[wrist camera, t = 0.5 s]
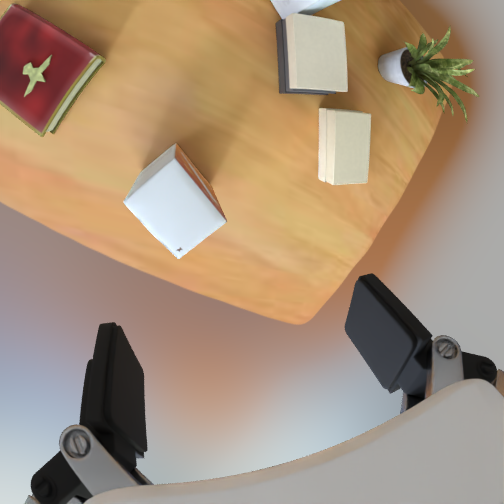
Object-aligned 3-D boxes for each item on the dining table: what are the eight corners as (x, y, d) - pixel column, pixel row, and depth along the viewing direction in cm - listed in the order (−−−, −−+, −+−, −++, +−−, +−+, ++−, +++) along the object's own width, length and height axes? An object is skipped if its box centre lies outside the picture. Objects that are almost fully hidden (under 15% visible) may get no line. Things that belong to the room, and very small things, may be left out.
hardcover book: (24, 7, 13) (11, 1, 10) (107, 59, 24) (98, 53, 20) (-21, 74, 16) (-35, 74, 12) (54, 133, 26) (40, 137, 23)
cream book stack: (318, 107, 34) (334, 109, 31) (354, 110, 36) (371, 112, 32) (318, 178, 40) (332, 186, 36) (351, 176, 41) (367, 184, 38)
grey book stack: (275, 23, 27) (287, 14, 23) (317, 28, 28) (332, 21, 24) (279, 93, 32) (291, 92, 28) (320, 95, 33) (336, 95, 30)
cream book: (285, 17, 23) (292, 12, 21) (335, 25, 24) (344, 22, 23) (289, 88, 28) (296, 87, 26) (338, 91, 30) (347, 91, 28)
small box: (212, 185, 37) (229, 222, 26) (176, 213, 37) (178, 262, 26) (176, 140, 32) (174, 156, 21) (139, 171, 33) (121, 203, 22)
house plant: (394, 129, 39) (470, 152, 25) (341, 77, 32) (423, 76, 19) (423, 75, 34) (495, 85, 21) (377, 22, 28) (453, 11, 14)
